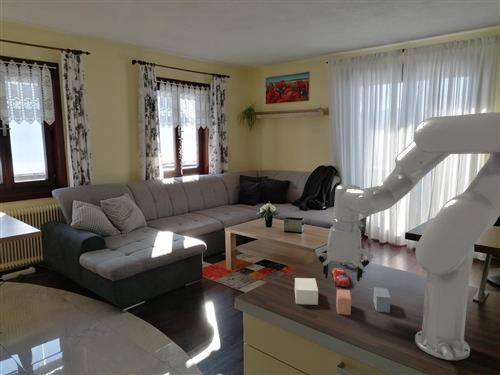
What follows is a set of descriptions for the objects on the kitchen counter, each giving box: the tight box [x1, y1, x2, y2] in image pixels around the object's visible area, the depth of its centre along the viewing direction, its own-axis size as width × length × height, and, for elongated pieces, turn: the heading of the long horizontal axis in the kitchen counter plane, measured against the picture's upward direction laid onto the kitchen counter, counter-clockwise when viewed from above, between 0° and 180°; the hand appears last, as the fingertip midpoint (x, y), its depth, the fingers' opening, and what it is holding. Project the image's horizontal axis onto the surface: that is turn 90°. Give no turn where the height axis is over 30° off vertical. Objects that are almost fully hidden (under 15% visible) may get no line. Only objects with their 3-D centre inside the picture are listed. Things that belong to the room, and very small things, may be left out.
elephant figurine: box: [337, 261, 357, 269], centre depth 151 cm, size 10×6×9 cm
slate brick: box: [372, 286, 392, 313], centre depth 116 cm, size 7×4×5 cm, turn 168°
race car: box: [331, 267, 351, 288], centre depth 137 cm, size 13×5×4 cm, turn 174°
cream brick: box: [294, 277, 319, 306], centre depth 123 cm, size 10×7×5 cm
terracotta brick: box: [336, 288, 352, 316], centre depth 114 cm, size 7×4×5 cm, turn 168°
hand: (342, 278), depth 114 cm, fingers open, 9 cm apart
